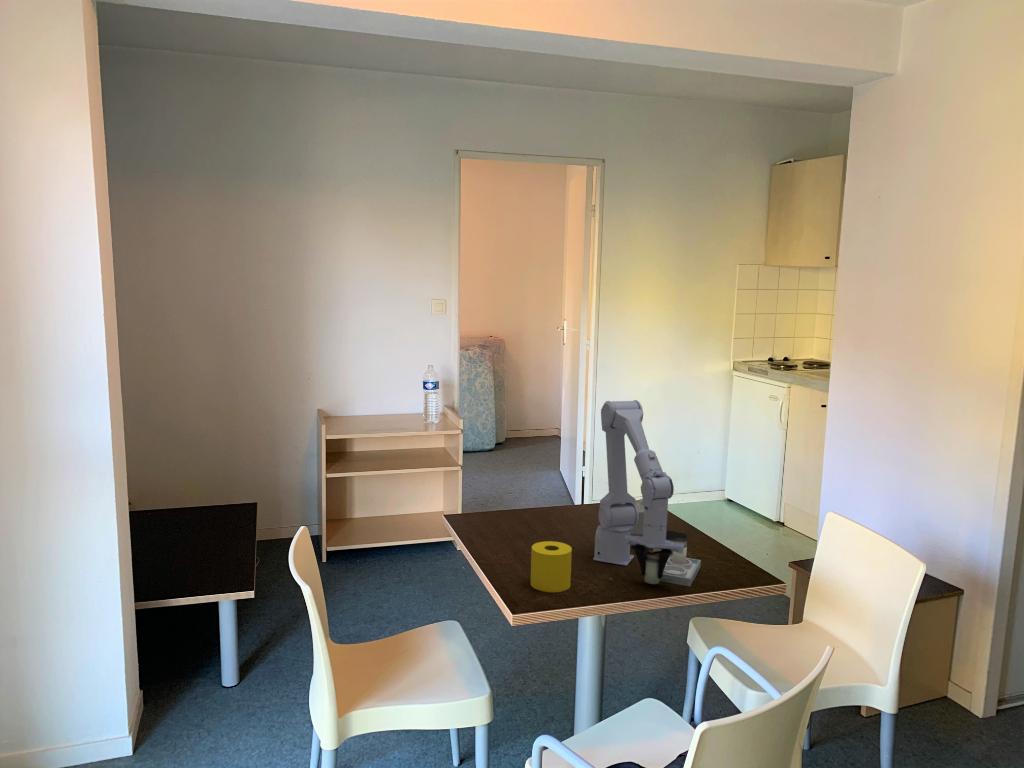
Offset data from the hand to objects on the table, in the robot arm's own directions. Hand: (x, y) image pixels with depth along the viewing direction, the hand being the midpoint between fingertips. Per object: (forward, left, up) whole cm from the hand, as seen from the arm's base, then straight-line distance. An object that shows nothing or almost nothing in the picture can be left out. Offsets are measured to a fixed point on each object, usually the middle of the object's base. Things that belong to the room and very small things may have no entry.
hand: (652, 575), depth 189 cm
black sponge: (-5, +30, -3) cm, 30 cm away
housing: (+4, +11, -2) cm, 12 cm away
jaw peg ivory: (+4, +14, -1) cm, 15 cm away
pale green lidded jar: (0, 0, -1) cm, 1 cm away
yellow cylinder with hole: (-23, -12, -3) cm, 26 cm away
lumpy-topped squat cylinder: (-14, +44, -3) cm, 47 cm away
